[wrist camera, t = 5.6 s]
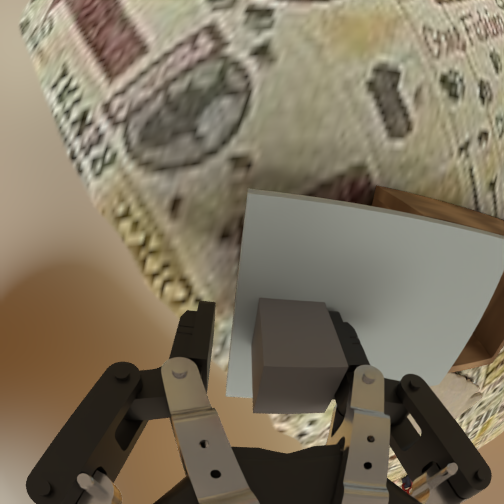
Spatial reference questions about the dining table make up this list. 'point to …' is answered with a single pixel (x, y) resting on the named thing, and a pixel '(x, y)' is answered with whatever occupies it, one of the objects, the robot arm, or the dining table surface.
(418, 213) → the brown wooden box
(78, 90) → the dining table surface
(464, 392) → the stone tool
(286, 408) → the lid
